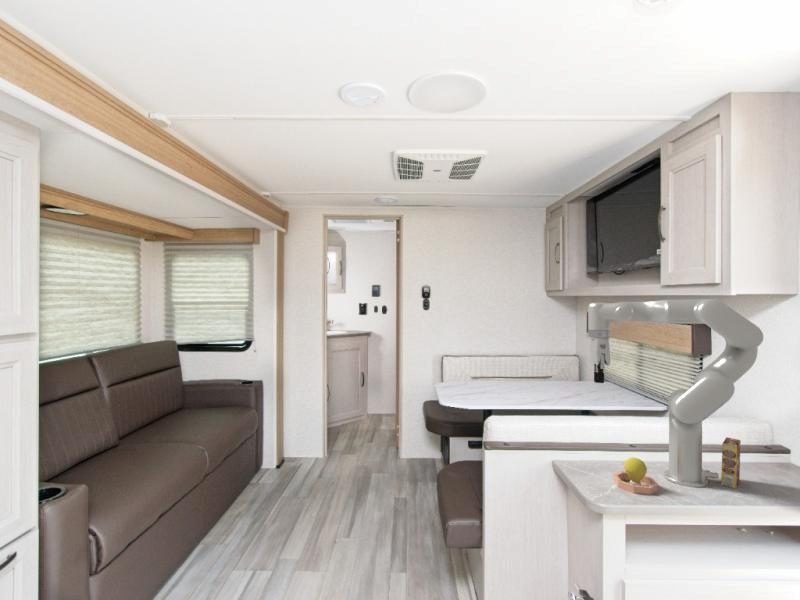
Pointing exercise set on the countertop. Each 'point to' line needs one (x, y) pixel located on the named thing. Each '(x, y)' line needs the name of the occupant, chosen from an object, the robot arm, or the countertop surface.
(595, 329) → the robot arm
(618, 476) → the terracotta ring
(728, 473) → the candy box
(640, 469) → the light bulb
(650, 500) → the countertop surface
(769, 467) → the countertop surface
